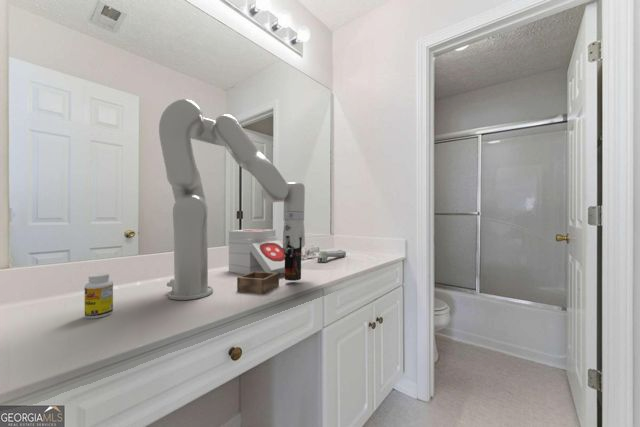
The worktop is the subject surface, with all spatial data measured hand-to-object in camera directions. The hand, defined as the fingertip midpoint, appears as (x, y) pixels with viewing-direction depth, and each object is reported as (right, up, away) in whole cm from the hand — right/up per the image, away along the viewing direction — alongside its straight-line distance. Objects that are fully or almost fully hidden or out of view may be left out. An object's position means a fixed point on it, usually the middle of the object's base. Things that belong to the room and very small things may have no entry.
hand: (292, 266), depth 98 cm
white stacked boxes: (-16, -7, +20) cm, 27 cm away
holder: (-11, -6, -6) cm, 14 cm away
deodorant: (0, -5, 0) cm, 5 cm away
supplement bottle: (-46, -7, -30) cm, 55 cm away
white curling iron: (+16, -7, +51) cm, 54 cm away
